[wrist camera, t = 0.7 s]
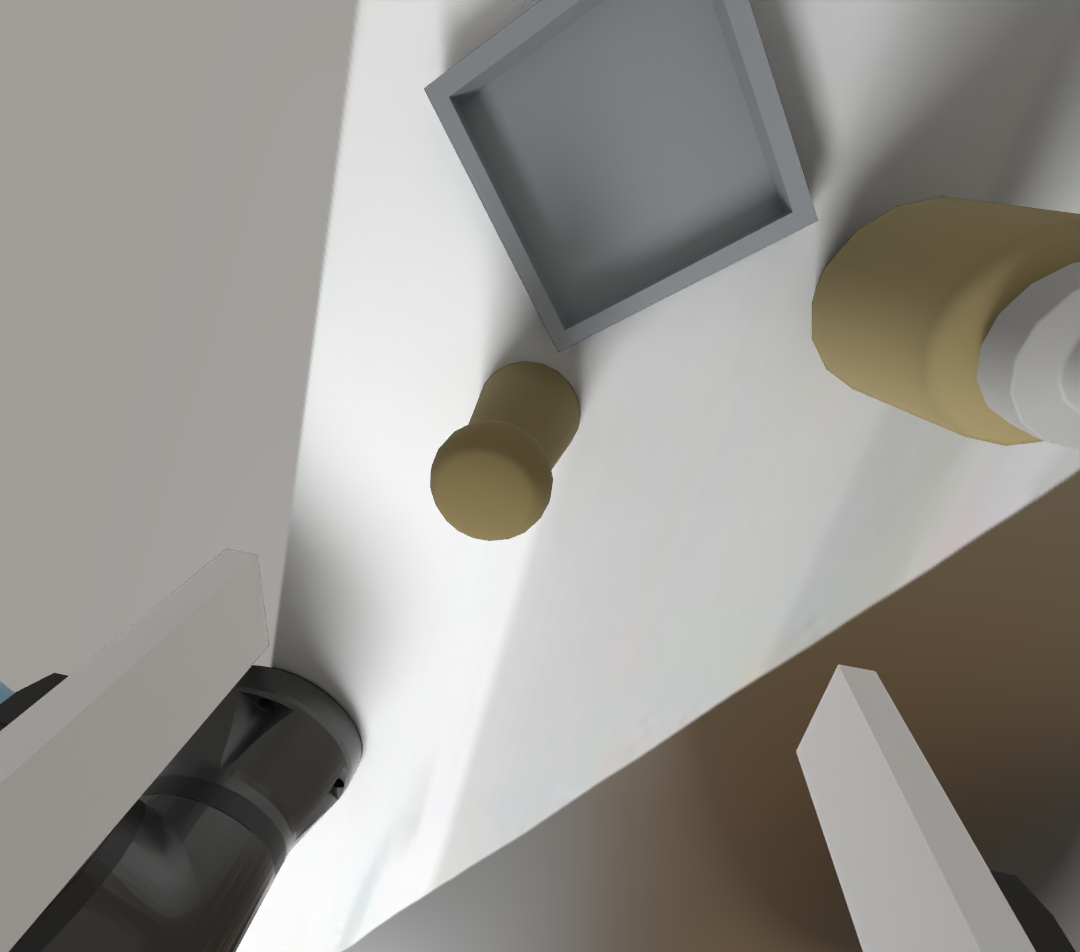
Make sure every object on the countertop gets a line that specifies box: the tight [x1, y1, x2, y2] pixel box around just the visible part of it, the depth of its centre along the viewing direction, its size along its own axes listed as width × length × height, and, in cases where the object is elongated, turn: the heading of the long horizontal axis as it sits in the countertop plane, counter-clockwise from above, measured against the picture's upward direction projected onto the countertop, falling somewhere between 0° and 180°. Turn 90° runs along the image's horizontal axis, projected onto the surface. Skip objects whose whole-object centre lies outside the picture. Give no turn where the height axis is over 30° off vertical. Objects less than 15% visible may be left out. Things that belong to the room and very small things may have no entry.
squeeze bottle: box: [812, 197, 1080, 449], centre depth 18 cm, size 8×8×18 cm
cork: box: [430, 361, 580, 541], centre depth 26 cm, size 6×6×11 cm
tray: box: [424, 0, 818, 352], centre depth 24 cm, size 13×13×2 cm
